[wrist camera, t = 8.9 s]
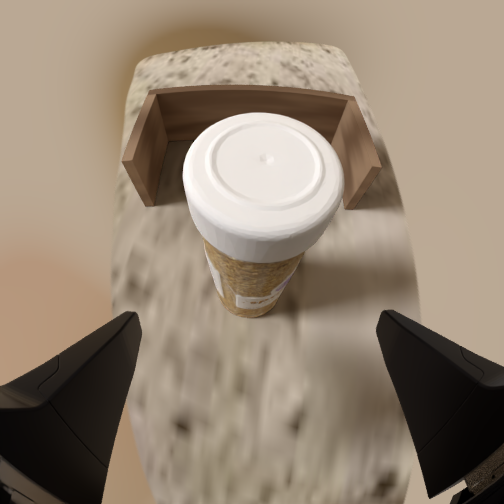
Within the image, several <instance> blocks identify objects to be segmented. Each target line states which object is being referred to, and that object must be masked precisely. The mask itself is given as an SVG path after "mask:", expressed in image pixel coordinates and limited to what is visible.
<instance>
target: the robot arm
mask: <svg viewBox="0 0 504 504" xmlns="http://www.w3.org/2000/svg"><path fill="white" fill-rule="evenodd" d="M376 334H377V337H378V340H379V344H380V347H381V351H382V354H383V358H384V361H385V364H386V367H387V370H388V372H389V375H390V377H391V380H392V382H393V385H394V388H395V390H396V393H397V396H398V398H399V401H400V404H401V407H402V410H403V412H404V415H405V418H406V421H407V424H408V427H409V430H410V433H411V436H412V439H413V443H414V446H415V449H416V452H417V456H418V460H419V463H420V467H421V470H422V474H423V478H424V482H425V485H426V489H427V494H428V497H429V499H431V498H433V497H435V496H437V495H439V494H440V493H442V492H444V491H446V490H448V489H449V488H451V487H453V486H455V485H456V484H458V483H460V482H461V481H462V480H465V482H466V485H467V487H466V488H465V489H463V490H462V491H460V492H459V493H457V494H455V495H454V496H453V497H452V500H451V502H450V504H504V367H503V366H501V365H499V364H496V363H494V362H492V361H490V360H488V359H485V358H483V357H481V356H479V355H477V354H475V353H473V352H471V351H469V350H467V349H466V348H464V347H462V346H459V345H458V344H456V343H454V342H452V341H451V340H449V339H447V338H445V337H443V336H441V335H439V334H438V333H436V332H434V331H432V330H430V329H428V328H426V327H424V326H423V325H421V324H419V323H417V322H415V321H413V320H411V319H409V318H407V317H405V316H404V315H402V314H400V313H398V312H396V311H394V310H383V311H382V312H381V315H380V318H379V321H378V324H377V327H376ZM141 337H142V329H141V325H140V321H139V317H138V314H137V313H136V312H131V311H126V312H124V313H122V314H121V315H119V316H118V317H116V318H115V319H113V320H111V321H110V322H108V323H107V324H105V325H103V326H102V327H100V328H99V329H97V330H96V331H94V332H92V333H91V334H89V335H88V336H86V337H84V338H83V339H82V340H80V341H78V342H77V343H75V344H74V345H72V346H70V347H69V348H67V349H66V350H64V351H63V352H61V353H60V354H59V355H56V356H55V357H53V358H52V359H50V360H49V361H47V362H45V363H44V364H42V365H40V366H39V367H37V368H35V369H33V370H31V371H30V372H28V373H26V374H24V375H23V376H20V377H18V378H17V379H15V380H13V381H11V382H9V383H7V384H5V385H2V386H0V504H101V503H102V498H103V492H104V487H105V482H106V477H107V472H108V467H109V462H110V458H111V454H112V450H113V446H114V441H115V437H116V433H117V429H118V426H119V422H120V419H121V415H122V411H123V408H124V404H125V401H126V397H127V394H128V391H129V387H130V384H131V381H132V378H133V375H134V371H135V367H136V362H137V357H138V352H139V347H140V342H141Z"/></svg>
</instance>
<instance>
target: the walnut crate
mask: <svg viewBox="0 0 504 504" xmlns="http://www.w3.org/2000/svg"><path fill="white" fill-rule="evenodd" d="M246 113H272V114H278V115H283V116H287V117H290V118H292V119H295V120H298V121H300V122H302V123H304V124H306V125H308V126H310V127H311V128H313V129H314V130H316V131H317V132H318V133H319V134H321V135H322V136H323V137H324V138H325V139H326V140H327V141H328V142H329V144H330V145H331V146H332V147H333V149H334V150H335V152H336V153H337V155H338V157H339V160H340V162H341V165H342V168H343V172H344V192H343V197H342V198H343V203H344V208H345V209H350V210H353V209H354V208H355V206H356V205H357V203H358V202H359V201H360V199H361V198H362V196H363V195H364V193H365V192H366V190H367V189H368V188H369V186H370V185H371V183H372V182H373V180H374V179H375V177H376V176H377V174H378V173H379V171H380V170H381V168H382V166H381V163H380V160H379V157H378V154H377V152H376V149H375V146H374V143H373V141H372V138H371V135H370V133H369V130H368V128H367V125H366V123H365V120H364V118H363V116H362V113H361V111H360V109H359V106H358V104H357V102H356V100H355V97H354V96H349V95H343V94H337V93H331V92H325V91H317V90H310V89H301V88H291V87H279V86H263V85H201V86H185V87H173V88H163V89H154V90H149V93H148V95H147V97H146V99H145V101H144V104H143V106H142V108H141V111H140V113H139V116H138V118H137V120H136V123H135V125H134V128H133V131H132V133H131V136H130V139H129V141H128V144H127V147H126V150H125V153H124V156H123V158H122V163H123V165H124V167H125V169H126V171H127V173H128V175H129V177H130V179H131V181H132V182H133V184H134V186H135V188H136V190H137V192H138V194H139V196H140V197H141V199H142V201H143V203H144V205H145V206H154V205H155V199H156V194H157V189H158V184H159V179H160V175H161V170H162V166H163V161H164V157H165V153H166V149H167V145H168V141H182V140H196V139H197V137H198V136H199V135H200V134H201V133H202V132H204V131H205V130H206V129H207V128H209V127H210V126H212V125H213V124H215V123H217V122H219V121H221V120H224V119H226V118H228V117H232V116H235V115H240V114H246Z"/></svg>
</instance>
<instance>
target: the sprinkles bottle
mask: <svg viewBox="0 0 504 504" xmlns="http://www.w3.org/2000/svg"><path fill="white" fill-rule="evenodd" d="M183 183H184V188H185V193H186V197H187V201H188V206H189V209H190V213H191V216H192V218H193V221H194V223H195V225H196V227H197V229H198V230H199V231H200V233H201V234H202V236H203V240H204V248H205V253H206V257H207V260H208V263H209V267H210V270H211V273H212V276H213V279H214V282H215V285H216V288H217V293H218V296H219V298H220V300H221V302H222V304H223V306H224V307H225V308H226V309H227V310H228V311H230V312H231V313H232V314H235V315H237V316H240V317H247V318H253V317H258V316H260V315H263V314H265V313H266V312H268V311H269V310H270V309H272V308H273V307H274V305H275V304H276V302H277V301H278V298H279V296H280V294H281V293H282V291H283V290H284V288H285V286H286V285H287V283H288V281H289V280H290V278H291V276H292V275H293V273H294V272H295V270H296V268H297V266H298V264H299V262H300V259H301V258H302V256H303V255H304V253H305V251H306V250H308V249H309V248H310V247H311V246H312V245H314V244H315V243H316V242H317V240H318V239H319V238H320V237H321V235H322V234H323V233H324V231H325V230H326V228H327V227H328V225H329V223H330V222H331V220H332V218H333V216H334V215H335V213H336V211H337V209H338V207H339V205H340V202H341V200H342V197H343V192H344V172H343V168H342V165H341V162H340V160H339V157H338V155H337V153H336V152H335V150H334V149H333V147H332V146H331V145H330V144H329V142H328V141H327V140H326V139H325V138H324V137H323V136H322V135H321V134H319V133H318V132H317V131H316V130H314V129H313V128H311V127H310V126H308V125H306V124H304V123H302V122H300V121H298V120H295V119H292V118H290V117H287V116H283V115H278V114H272V113H246V114H240V115H235V116H232V117H228V118H226V119H224V120H221V121H219V122H217V123H215V124H213V125H212V126H210V127H209V128H207V129H206V130H205V131H204V132H202V133H201V134H200V135H199V136H198V137H197V139H196V140H195V141H194V142H193V144H192V145H191V147H190V149H189V151H188V153H187V155H186V158H185V162H184V166H183Z"/></svg>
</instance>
